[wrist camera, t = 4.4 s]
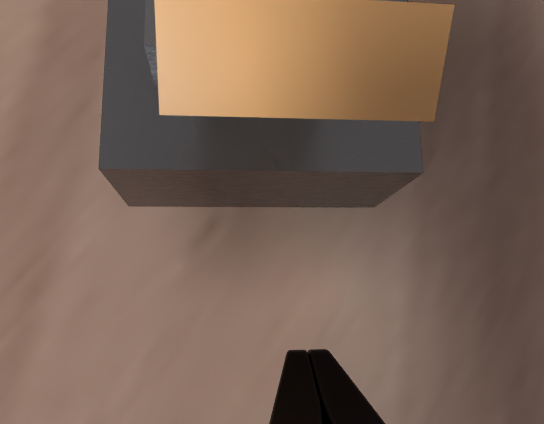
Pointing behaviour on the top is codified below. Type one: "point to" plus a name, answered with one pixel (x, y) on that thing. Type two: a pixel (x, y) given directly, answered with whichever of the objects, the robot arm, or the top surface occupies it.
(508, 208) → the top surface
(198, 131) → the box
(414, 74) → the lever
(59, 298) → the top surface
